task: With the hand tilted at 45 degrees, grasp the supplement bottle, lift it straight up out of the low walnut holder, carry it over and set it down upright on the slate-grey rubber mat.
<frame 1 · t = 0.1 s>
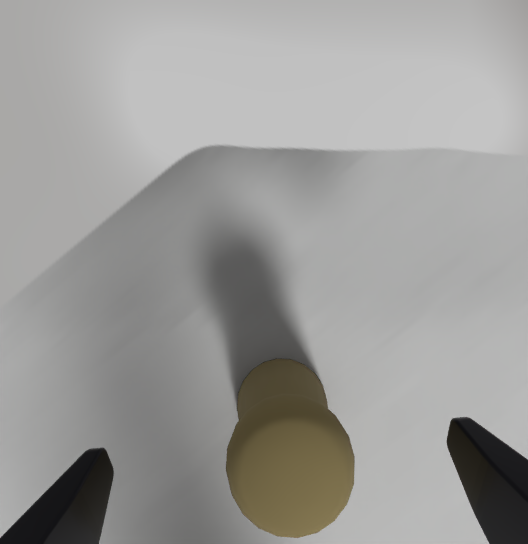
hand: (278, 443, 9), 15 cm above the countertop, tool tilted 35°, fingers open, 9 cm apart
cork: (281, 403, 24), on the countertop
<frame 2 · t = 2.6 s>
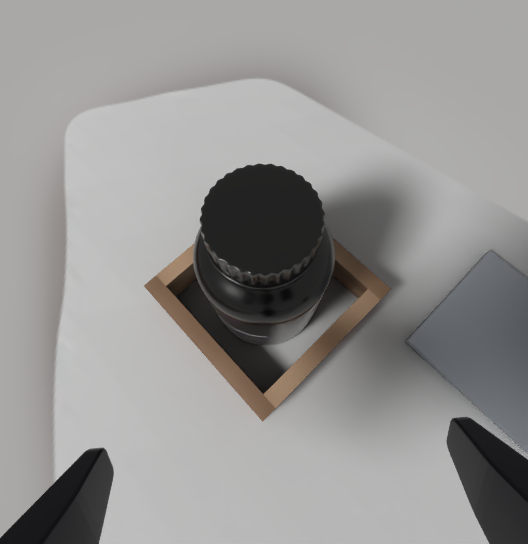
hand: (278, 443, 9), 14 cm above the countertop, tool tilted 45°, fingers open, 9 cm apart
slate mat: (504, 343, 23), on the countertop
walnut holder: (266, 297, 24), on the countertop
supplement bottle: (266, 298, 25), resting in walnut holder
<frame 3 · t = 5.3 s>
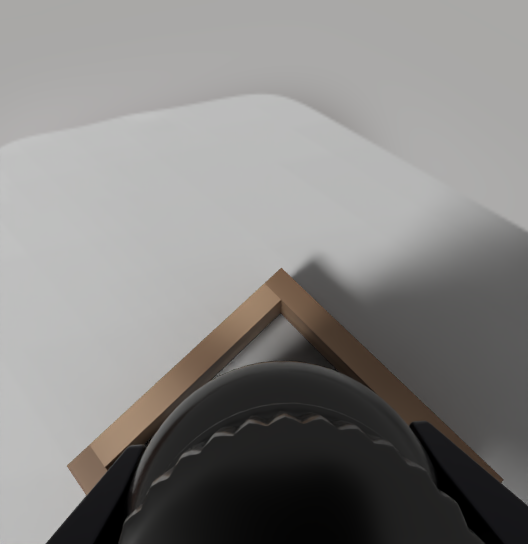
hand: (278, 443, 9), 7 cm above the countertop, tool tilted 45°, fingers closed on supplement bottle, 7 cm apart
walnut holder: (279, 460, 15), on the countertop
supplement bottle: (279, 459, 15), resting in walnut holder, touching gripper
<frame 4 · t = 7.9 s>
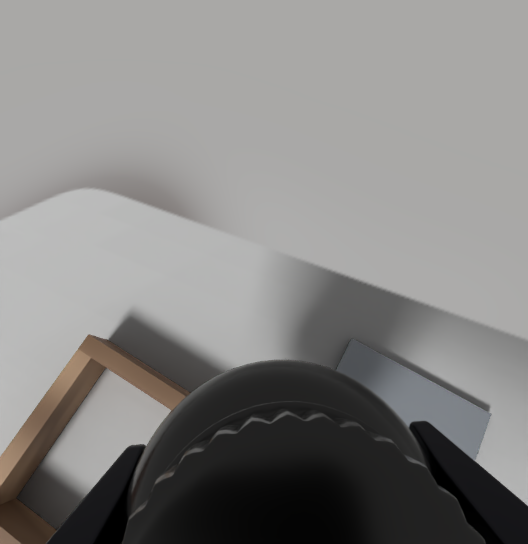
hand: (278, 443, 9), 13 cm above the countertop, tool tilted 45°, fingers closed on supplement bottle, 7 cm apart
slate mat: (387, 443, 21), on the countertop
walnut holder: (123, 466, 21), on the countertop
supplement bottle: (275, 458, 15), point 6 cm above the countertop, touching gripper
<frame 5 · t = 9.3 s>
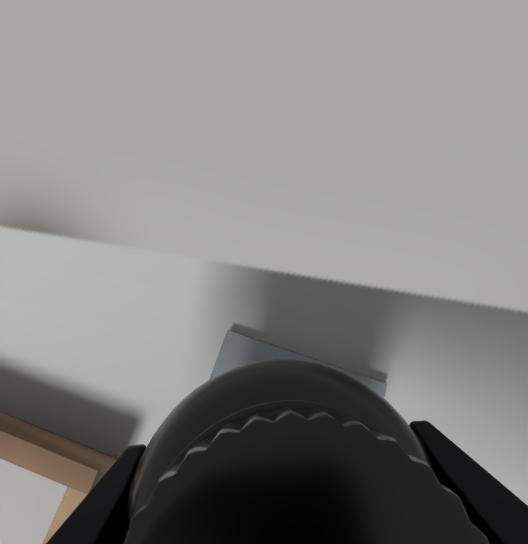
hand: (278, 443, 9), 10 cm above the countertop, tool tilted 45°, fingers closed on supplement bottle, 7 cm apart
slate mat: (279, 441, 18), on the countertop
supplement bottle: (276, 457, 15), point 3 cm above the countertop, touching gripper
when the fingers open (8 cm above the countertop, at t = 10.2 s): supplement bottle drops 1 cm, resting on slate mat.
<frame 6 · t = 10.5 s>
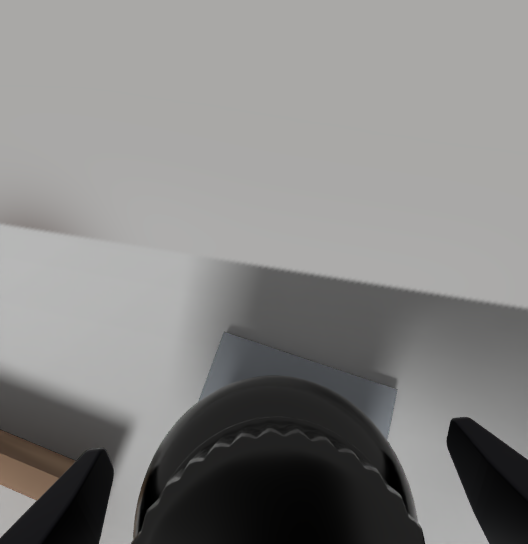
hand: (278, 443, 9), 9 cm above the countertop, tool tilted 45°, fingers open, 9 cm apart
slate mat: (280, 452, 17), on the countertop
supplement bottle: (273, 459, 16), resting on slate mat
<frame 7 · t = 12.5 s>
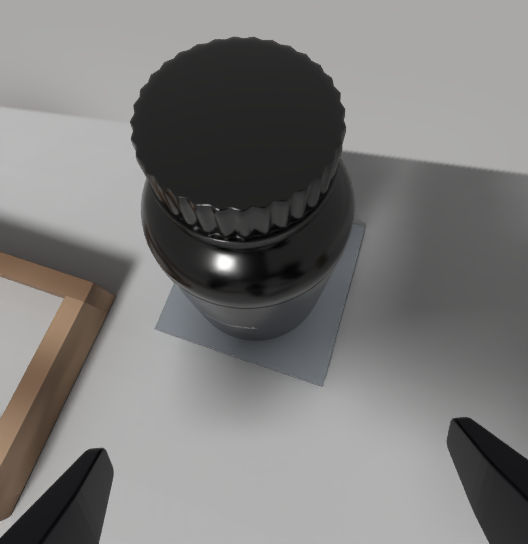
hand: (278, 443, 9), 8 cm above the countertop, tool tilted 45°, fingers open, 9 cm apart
slate mat: (264, 278, 20), on the countertop
supplement bottle: (258, 280, 19), resting on slate mat
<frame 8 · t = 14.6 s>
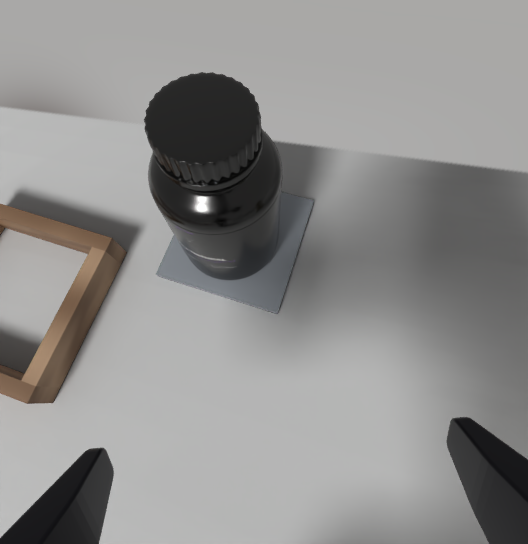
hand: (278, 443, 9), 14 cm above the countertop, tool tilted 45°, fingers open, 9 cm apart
slate mat: (238, 238, 26), on the countertop
walnut holder: (24, 298, 25), on the countertop
supplement bottle: (233, 240, 26), resting on slate mat
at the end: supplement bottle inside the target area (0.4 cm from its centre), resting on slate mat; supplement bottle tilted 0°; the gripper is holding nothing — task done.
